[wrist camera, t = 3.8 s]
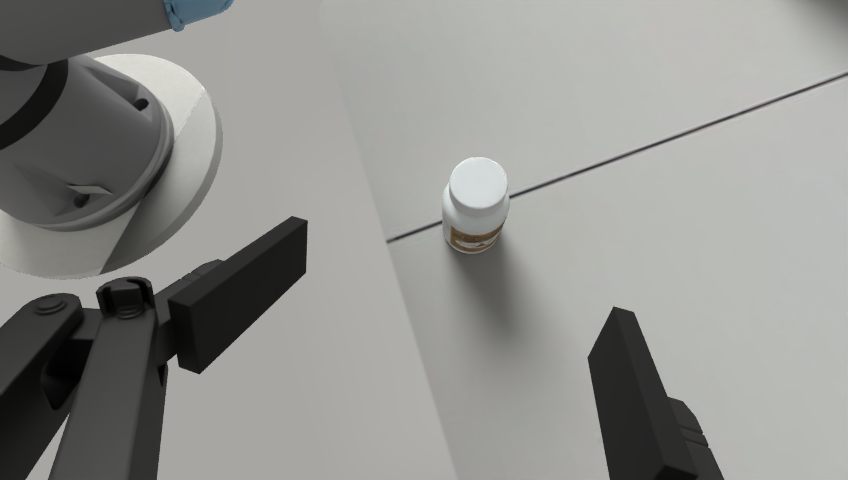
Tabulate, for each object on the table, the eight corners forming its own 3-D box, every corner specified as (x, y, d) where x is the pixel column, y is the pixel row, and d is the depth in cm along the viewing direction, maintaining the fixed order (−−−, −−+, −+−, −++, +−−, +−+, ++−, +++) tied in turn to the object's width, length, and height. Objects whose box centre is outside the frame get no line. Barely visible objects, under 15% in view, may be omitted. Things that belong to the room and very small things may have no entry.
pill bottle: (453, 262, 29) (456, 227, 22) (435, 211, 30) (431, 162, 23) (508, 244, 29) (529, 203, 22) (487, 195, 31) (500, 140, 23)
